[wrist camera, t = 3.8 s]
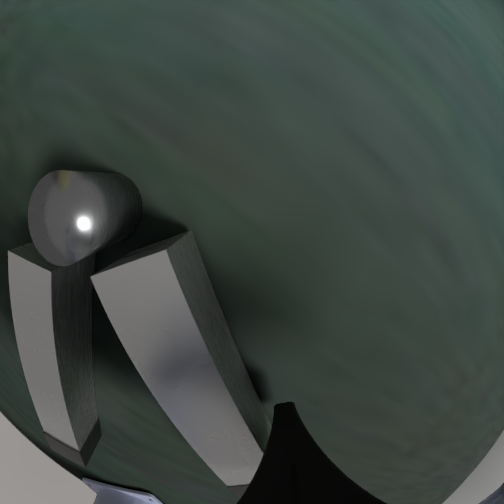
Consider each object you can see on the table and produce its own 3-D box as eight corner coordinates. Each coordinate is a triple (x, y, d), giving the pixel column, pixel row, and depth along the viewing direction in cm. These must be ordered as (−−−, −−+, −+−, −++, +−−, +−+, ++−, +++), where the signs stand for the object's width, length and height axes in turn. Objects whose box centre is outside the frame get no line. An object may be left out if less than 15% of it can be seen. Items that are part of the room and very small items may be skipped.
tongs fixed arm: (65, 162, 9) (8, 159, 5) (149, 180, 9) (101, 179, 6) (69, 419, 12) (49, 452, 9) (124, 445, 12) (109, 482, 9)
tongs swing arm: (131, 251, 9) (87, 277, 6) (193, 229, 9) (167, 249, 6) (242, 458, 12) (241, 500, 9) (285, 451, 12) (290, 494, 9)
